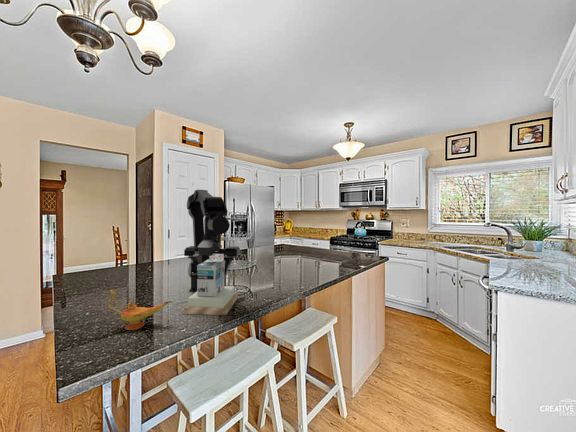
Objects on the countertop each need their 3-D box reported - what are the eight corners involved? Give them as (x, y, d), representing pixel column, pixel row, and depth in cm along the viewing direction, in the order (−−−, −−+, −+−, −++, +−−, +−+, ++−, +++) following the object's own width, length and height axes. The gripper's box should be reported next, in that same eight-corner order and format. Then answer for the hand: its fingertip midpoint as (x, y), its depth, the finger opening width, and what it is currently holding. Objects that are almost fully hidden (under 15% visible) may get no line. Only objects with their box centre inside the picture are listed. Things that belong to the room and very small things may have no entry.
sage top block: (188, 306, 86) (188, 298, 86) (204, 293, 100) (204, 285, 100) (223, 307, 85) (223, 298, 85) (234, 294, 99) (234, 286, 99)
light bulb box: (215, 297, 87) (216, 265, 87) (196, 296, 87) (196, 265, 87) (224, 287, 98) (225, 259, 97) (207, 287, 98) (207, 259, 98)
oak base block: (184, 317, 85) (184, 308, 85) (202, 300, 101) (202, 292, 101) (226, 318, 84) (226, 309, 84) (237, 300, 100) (237, 293, 100)
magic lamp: (169, 328, 74) (169, 291, 74) (101, 333, 72) (100, 293, 71) (175, 318, 81) (175, 284, 81) (113, 322, 78) (113, 286, 78)
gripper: (176, 233, 84) (176, 280, 85) (232, 234, 84) (232, 281, 84) (190, 230, 96) (190, 272, 96) (240, 231, 95) (240, 273, 95)
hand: (212, 275), depth 93 cm, fingers open, 9 cm apart
